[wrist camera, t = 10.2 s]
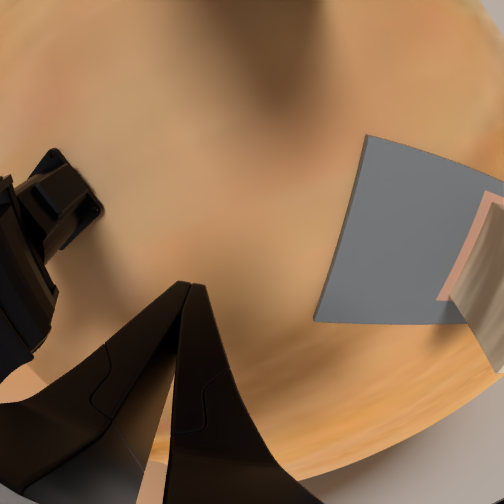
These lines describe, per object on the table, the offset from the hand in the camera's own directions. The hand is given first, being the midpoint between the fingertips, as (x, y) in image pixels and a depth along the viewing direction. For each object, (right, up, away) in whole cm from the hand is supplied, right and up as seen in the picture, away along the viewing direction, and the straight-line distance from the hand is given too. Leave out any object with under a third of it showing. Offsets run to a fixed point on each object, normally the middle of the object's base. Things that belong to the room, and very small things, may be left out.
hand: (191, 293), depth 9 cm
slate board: (+20, +1, +14) cm, 24 cm away
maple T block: (+26, +1, +13) cm, 29 cm away
